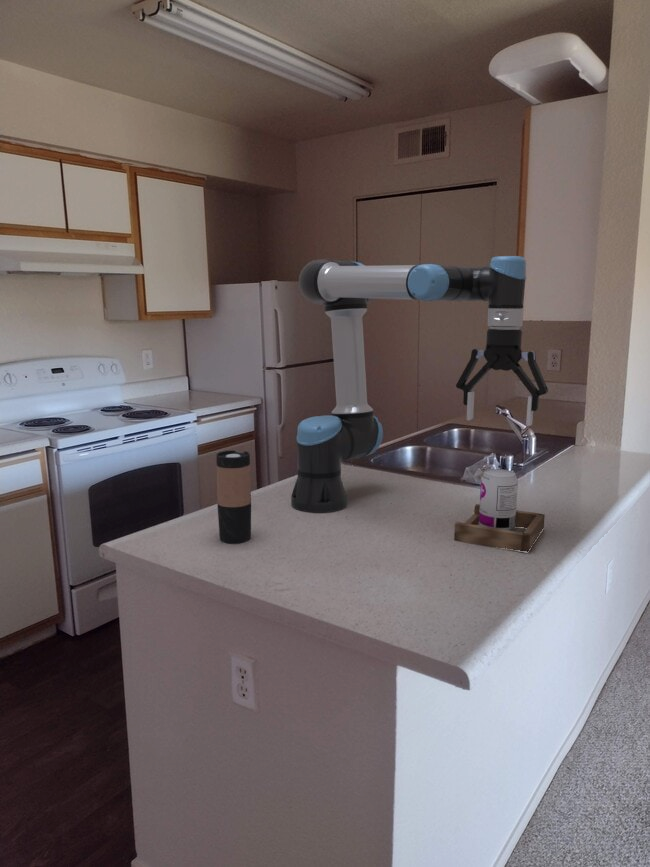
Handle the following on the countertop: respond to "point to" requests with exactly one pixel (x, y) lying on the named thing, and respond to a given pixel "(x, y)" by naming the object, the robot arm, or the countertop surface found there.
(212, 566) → the countertop surface
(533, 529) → the dock bay
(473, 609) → the countertop surface
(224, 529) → the travel mug
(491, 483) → the supplement can
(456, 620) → the countertop surface
